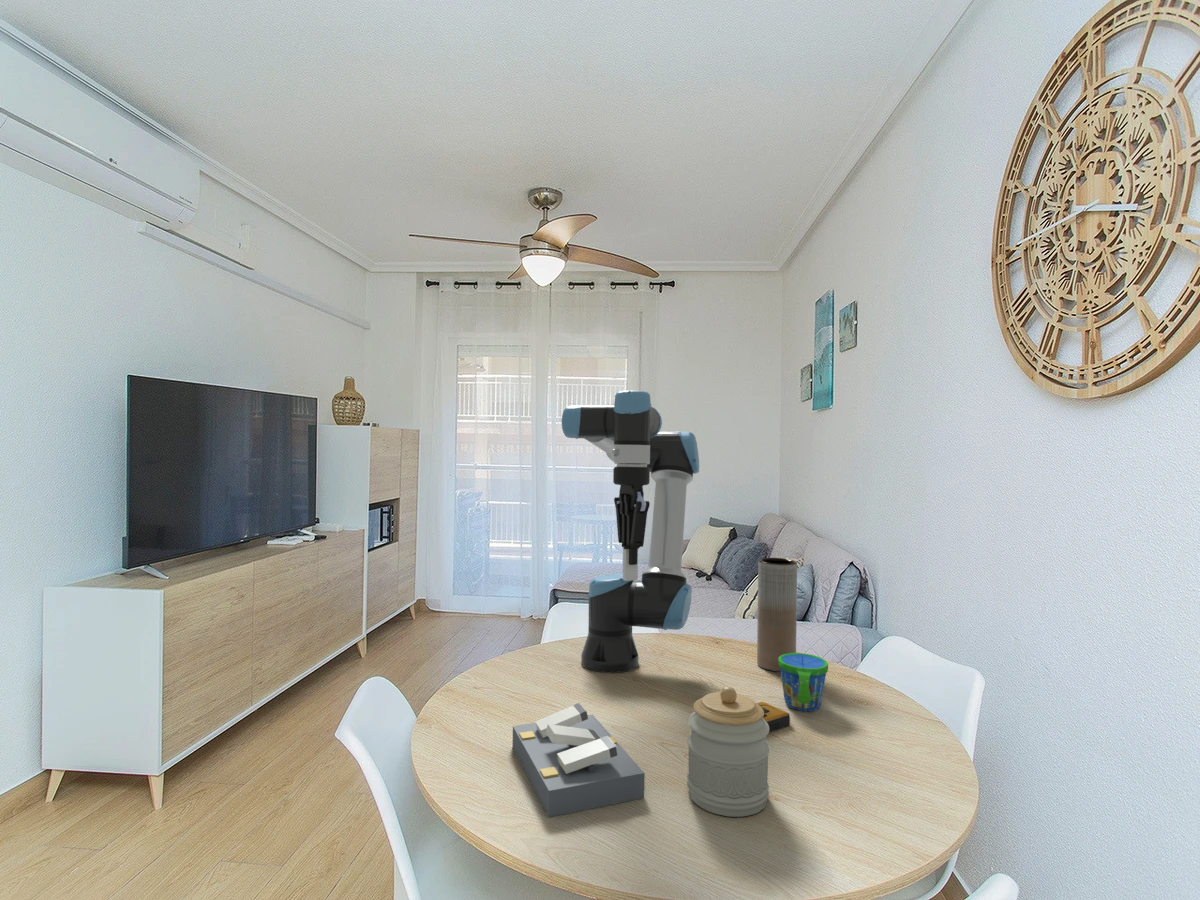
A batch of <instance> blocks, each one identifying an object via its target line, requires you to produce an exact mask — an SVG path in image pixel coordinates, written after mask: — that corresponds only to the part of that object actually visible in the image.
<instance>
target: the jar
mask: <svg viewBox="0 0 1200 900" xmlns="http://www.w3.org/2000/svg"><path fill="white" fill-rule="evenodd" d="M736 691H737V690H736V689H734V688H733V687H731V686H724V687H722V688H721V690H720V691H714V692H711V693H707V694H706V695H704V696H703V697H701V698H698V699H697V700H696V701H695V702H694V703H693V706H692V709H693V712H692V713H690V715H689V716H688V719H687V723H688V727H689V728H690V734H689V736H688V738H687V745H688V764H687V765H688V771H687V772H688V773H687V776H686V780H687V781H686V783H687V784H686V785H687V789H688V795H689V797H690V799H691V801H693V802H694V804H695V805H697V806H698V807H700V808H701V809H703V810H705V811H707V812H708V813H712V814H715V815H718V816H724V817H731V818H733V817H735V818H740V817H741V818H742V817H747V816H749V817H750V816H753V815H755V814H758V813H759V812H760V811H762V810H764V808H765V807H766V805H767V803H768V797H769V794H770V793H769V789H770V787H769V781H768V777H769V775H768V773H769V753H770V746H769V744H768V743H767V735H769V734H770V732H769V725H768V723H767V722H766V721H765V720H764V719H763V716H764V710H763V709H762V707H761V706H759V705H758V704H757V703H758V702H757V703H756V702H755V701H754V700H753V699H752V698H750V697H749V696H746V695H744V694H741V693H737V692H736Z"/></svg>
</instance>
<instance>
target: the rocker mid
mask: <svg viewBox="0 0 1200 900" xmlns="http://www.w3.org/2000/svg"><path fill="white" fill-rule="evenodd" d="M546 734H547V736H548V737H549V739H550V740H551V742H552V743H559V744H568V745H576V746H580V745H583V744H586V743H589V742H592V741H594V740H597V739H600V737H599V735H598V734H597V733H596V732H595V731H594V730H591V729H582V728H574V727H567V726H559V725H551V724H548V725H547V729H546Z"/></svg>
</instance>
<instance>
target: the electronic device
mask: <svg viewBox="0 0 1200 900" xmlns="http://www.w3.org/2000/svg"><path fill="white" fill-rule="evenodd" d="M757 704H758V705H759V706H761V707H762V709H763V710H764V716H763V719H764V720H765V721H766V722H767V723H768V725H769V733H773V732H775V731H778V730H782V729H785V728H788V727H789V726H790V723H791V716H790V713H789V712H787V711H785V710H783V709H781V708H778V707H776V706H774V705H772V704H769V703H767V702H764V701H760V702H757Z"/></svg>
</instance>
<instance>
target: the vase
mask: <svg viewBox="0 0 1200 900" xmlns="http://www.w3.org/2000/svg"><path fill="white" fill-rule="evenodd" d="M757 561H758V563H757V566H758V567H757V633H756V636H757V638H756V639H757V641H756V643H757V644H756V646H757V647H756V663H757V666H758V667H759V668H761V669H764V670H766V671H770V672H776V673H777V672H779V673H781V669H780V667H779V664H778V658H779V657H780V656H781V655H783V654H788V653H797V619H798V618H797V611H798V606H797V605H798V603H797V601H798V599H797V598H798V597H797V596H798V562H797V561H796V560H794V559H789V558H782V557H763V558H758V560H757Z"/></svg>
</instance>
